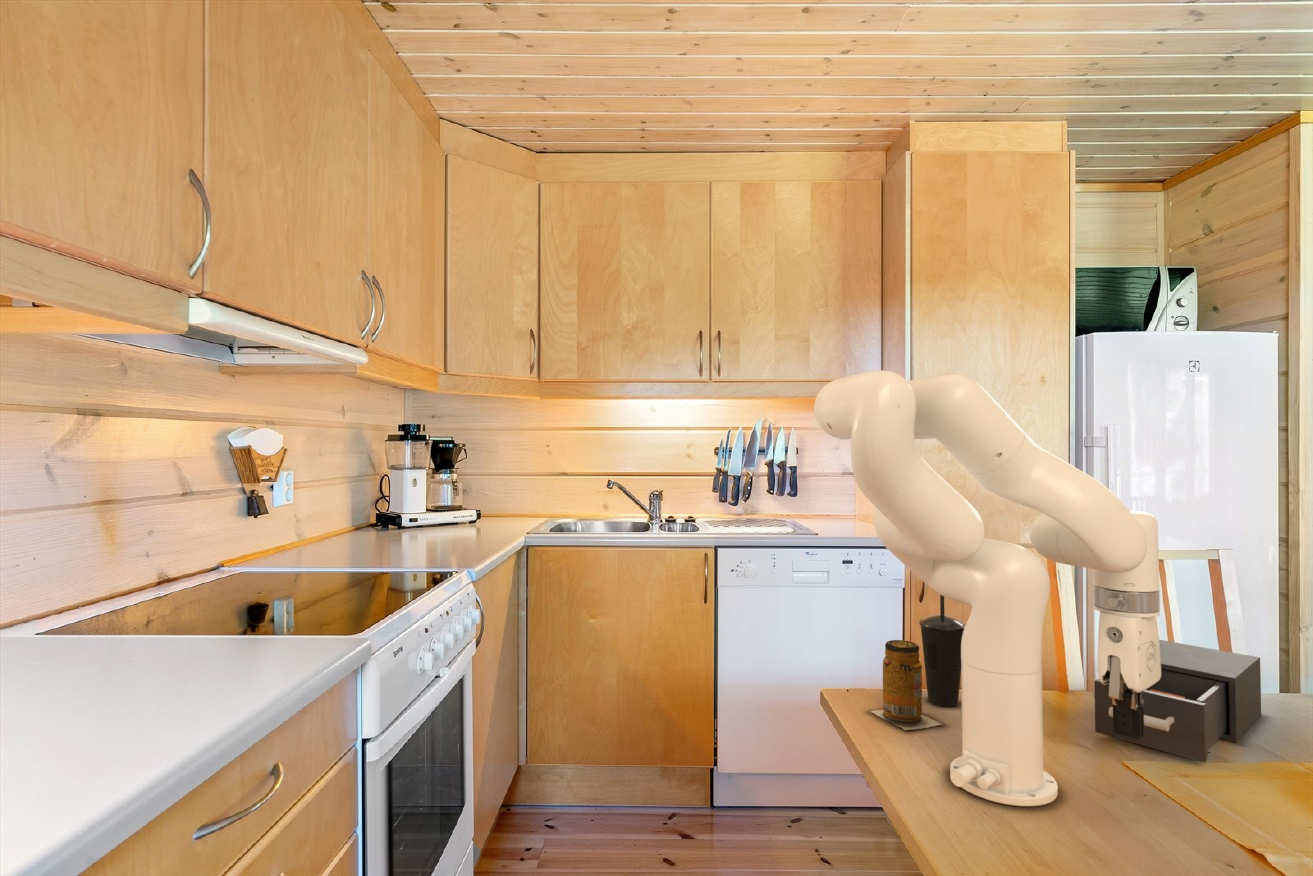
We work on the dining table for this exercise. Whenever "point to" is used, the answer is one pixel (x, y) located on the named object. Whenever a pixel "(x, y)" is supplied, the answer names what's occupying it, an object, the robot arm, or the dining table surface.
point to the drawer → (1173, 714)
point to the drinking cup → (942, 657)
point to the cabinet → (1223, 667)
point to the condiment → (903, 687)
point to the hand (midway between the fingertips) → (1128, 734)
